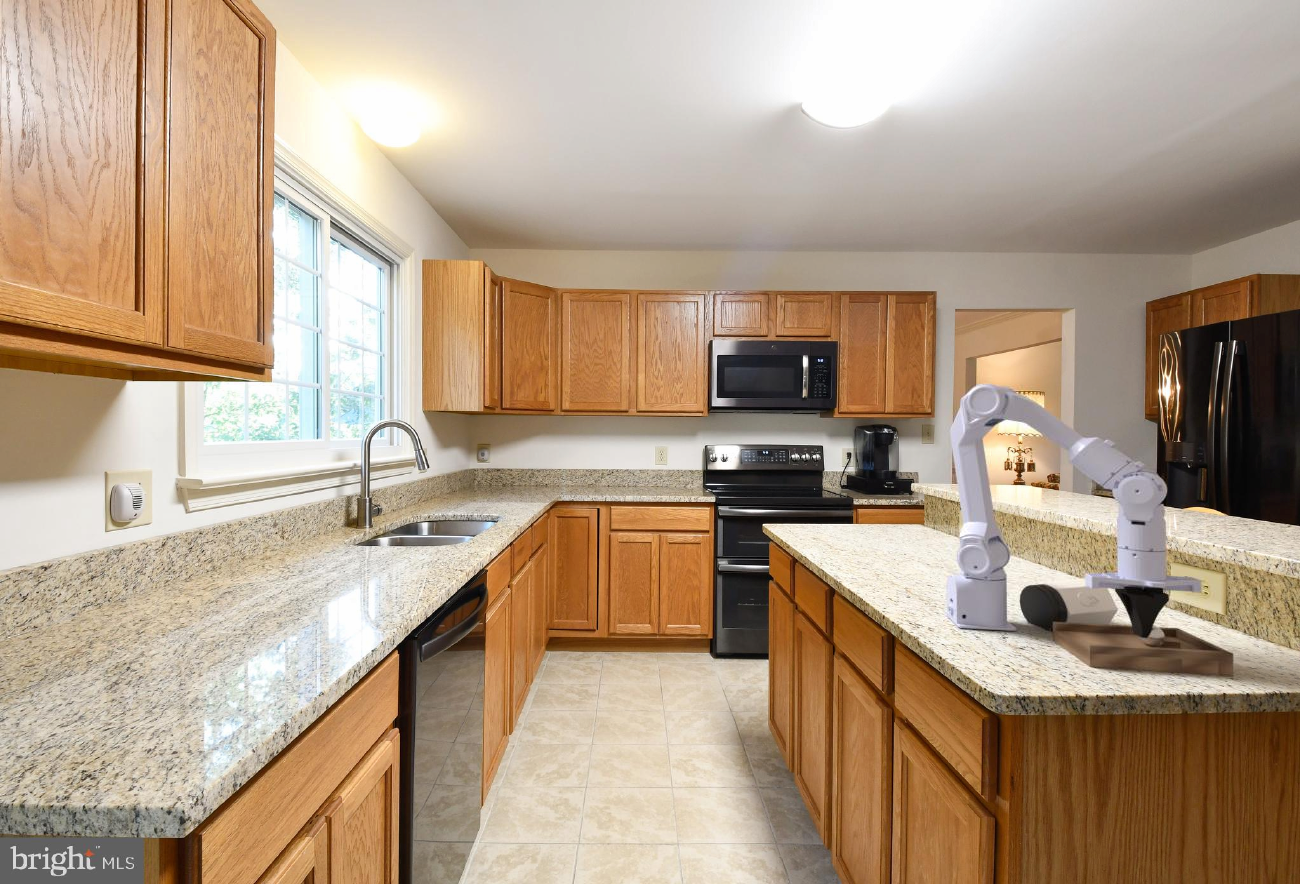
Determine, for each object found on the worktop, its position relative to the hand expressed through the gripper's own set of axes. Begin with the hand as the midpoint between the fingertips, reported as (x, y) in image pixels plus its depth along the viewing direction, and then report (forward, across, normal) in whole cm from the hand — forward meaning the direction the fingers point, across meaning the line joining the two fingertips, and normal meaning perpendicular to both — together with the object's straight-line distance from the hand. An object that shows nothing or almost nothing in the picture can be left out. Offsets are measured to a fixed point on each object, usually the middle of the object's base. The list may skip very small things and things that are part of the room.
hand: (1142, 636), depth 87 cm
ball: (0, +1, 0) cm, 1 cm away
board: (+3, -1, 0) cm, 3 cm away
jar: (-1, +2, +17) cm, 17 cm away
